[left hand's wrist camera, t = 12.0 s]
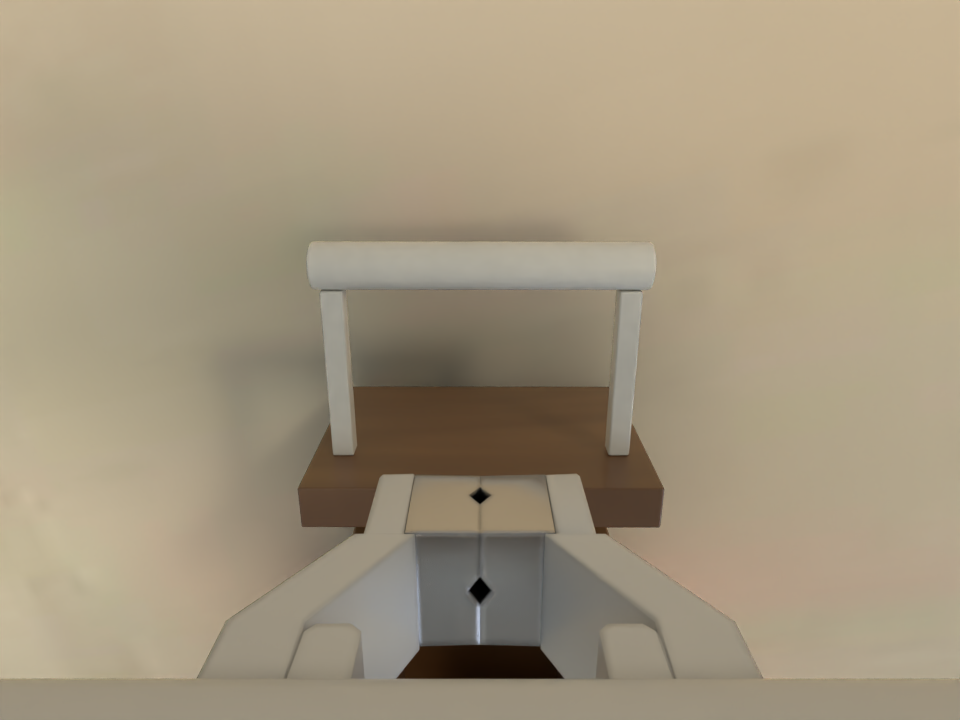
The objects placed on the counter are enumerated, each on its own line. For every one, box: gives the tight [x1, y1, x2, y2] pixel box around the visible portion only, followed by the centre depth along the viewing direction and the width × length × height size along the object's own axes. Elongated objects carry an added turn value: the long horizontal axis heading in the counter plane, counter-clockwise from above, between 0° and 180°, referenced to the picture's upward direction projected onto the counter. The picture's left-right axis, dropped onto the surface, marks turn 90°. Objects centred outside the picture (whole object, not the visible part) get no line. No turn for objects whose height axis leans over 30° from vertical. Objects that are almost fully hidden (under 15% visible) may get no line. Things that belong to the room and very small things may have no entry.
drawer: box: [298, 241, 664, 679], centre depth 23 cm, size 26×10×7 cm, turn 0°
